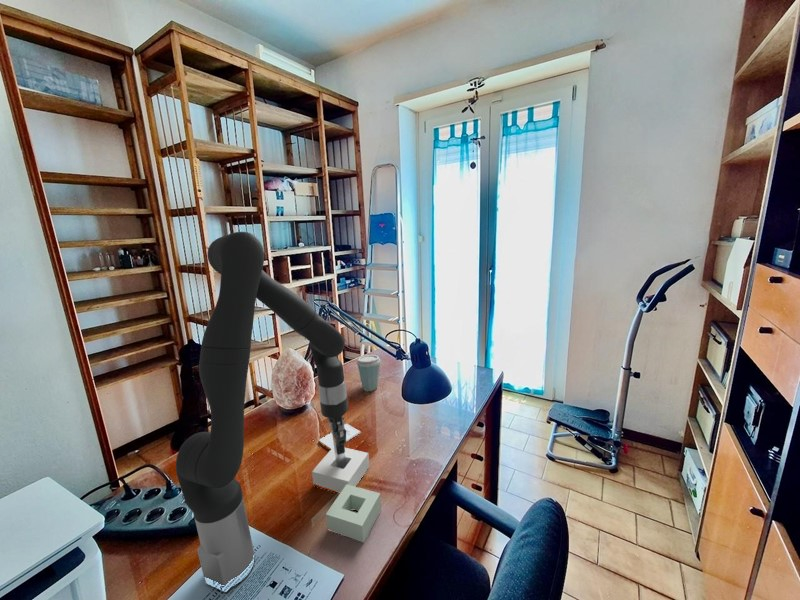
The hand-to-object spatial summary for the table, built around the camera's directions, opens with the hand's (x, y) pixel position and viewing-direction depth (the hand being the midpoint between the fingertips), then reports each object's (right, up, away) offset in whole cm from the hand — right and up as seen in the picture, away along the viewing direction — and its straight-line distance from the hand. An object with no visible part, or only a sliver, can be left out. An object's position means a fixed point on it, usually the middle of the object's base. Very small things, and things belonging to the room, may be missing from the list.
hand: (339, 449), depth 99 cm
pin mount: (+6, -12, -13) cm, 19 cm away
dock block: (+1, -9, +2) cm, 9 cm away
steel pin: (0, -6, +2) cm, 6 cm away
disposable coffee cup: (+5, +4, +54) cm, 54 cm away
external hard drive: (-3, -6, +20) cm, 21 cm away
